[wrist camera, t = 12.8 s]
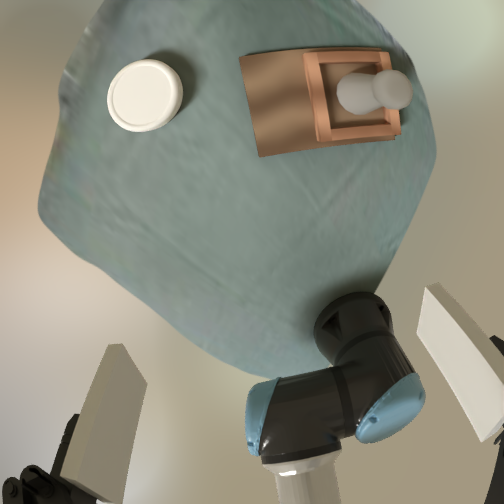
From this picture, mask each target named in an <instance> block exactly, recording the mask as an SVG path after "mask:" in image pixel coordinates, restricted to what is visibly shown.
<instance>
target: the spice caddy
mask: <svg viewBox="0 0 504 504" xmlns="http://www.w3.org/2000/svg"><path fill="white" fill-rule="evenodd" d="M239 62H240V66H241V71H242V76H243V80H244V85H245V90H246V95H247V99H248V104H249V109H250V114H251V119H252V124H253V129H254V134H255V139H256V144H257V149H258V155H259V157H265V156H271V155H276V154H282V153H288V152H295V151H301V150H308V149H315V148H322V147H330V146H338V145H346V144H355V143H365V142H376V141H388V140H395V135H401V127H400V118H399V110H396V109H387V108H386V107H384V106H383V107H381V108H378V109H376V110H374V111H371V112H369V113H367V114H365V115H355V114H353V113H351V112H349V111H347V110H345V108H344V107H343V106H342V105H341V104H340V103H339V100H338V97H337V94H336V93H337V84H338V83H339V82H340V80H341V79H342V77H343V76H346V75H348V74H350V73H363V74H370V75H376V74H377V73H379V72H381V71H383V70H386V69H390V70H392V66H391V61H390V56H389V52H382V51H381V48H365V47H333V48H311V49H297V50H286V51H277V52H269V53H262V54H255V55H248V56H242V57H239Z"/></svg>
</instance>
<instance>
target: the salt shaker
mask: <svg viewBox="0 0 504 504" xmlns="http://www.w3.org/2000/svg"><path fill="white" fill-rule="evenodd" d="M336 94H337V97H338V100H339V103H340V104H341V105H342V106H343V107H344V108H345V110H347V111H349V112H351V113H353V114H355V115H365V114H367V113H369V112H371V111H374V110H376V109H378V108H381V107H383V106H384V107H386V108H387V109H396V110H399V109H402V108H404V107H406V106H408V105H409V103H410V102H411V100H412V96H413V89H412V86H411V82H410V81H409V80H408V78H407V77H406V75H404V74H403V73H401V72H400V71H398V70H390V69H386V70H383V71H381V72H379V73H377V74H376V75H370V74H363V73H350V74H348V75H346V76H343V77H342V79H341V80H340V82H339V83H338V84H337V93H336Z"/></svg>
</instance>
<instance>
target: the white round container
mask: <svg viewBox="0 0 504 504" xmlns="http://www.w3.org/2000/svg"><path fill="white" fill-rule="evenodd" d="M182 98H183V87H182V83H181V80H180V78H179V76H178V74H177V73H176V72H175V71H174V70H173V69H172V68H171V67H169V66H168V65H167V64H165V63H163V62H161V61H158V60H153V59H144V60H139V61H136V62H133V63H131V64H129V65H127V66H126V67H124V68H123V69H122V70H121V71H120V72H119V73H118V74H117V75H116V76H115V77H114V79H113V81H112V82H111V85H110V87H109V90H108V95H107V104H108V109H109V112H110V114H111V116H112V118H113V119H114V121H115V122H116V123H117V124H118V125H120V126H121V127H122V128H124V129H127V130H129V131H134V132H144V131H150V130H154V129H157V128H160V127H162V126H163V125H165V124H166V123H168V122H169V121H170V120H171V119H172V118H173V117H174V116H175V115H176V113H177V112H178V110H179V108H180V106H181V103H182Z"/></svg>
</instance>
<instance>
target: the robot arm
mask: <svg viewBox="0 0 504 504" xmlns="http://www.w3.org/2000/svg"><path fill="white" fill-rule="evenodd" d="M417 335H418V337H419V338H420V340H421V341H422V343H423V344H424V346H425V347H426V349H427V350H428V352H429V353H430V355H431V356H432V358H433V359H434V361H435V363H436V364H437V366H438V367H439V369H440V370H441V372H442V374H443V375H444V377H445V379H446V380H447V382H448V384H449V385H450V387H451V388H452V390H453V392H454V394H455V395H456V397H457V399H458V401H459V402H460V404H461V406H462V408H463V409H464V411H465V413H466V415H467V417H468V418H469V420H470V422H471V424H472V426H473V428H474V430H475V432H476V433H477V435H478V437H479V439H480V441H481V442H482V441H484V440H486V439H487V438H489V437H490V436H491V435H493V434H495V433H496V432H497V431H498V430H499V428H500V427H501V426H503V427H504V341H503V340H501V339H499V338H498V337H496V336H495V335H494V336H492V337H490V338H488V337H487V335H486V334H485V333H484V332H483V331H482V329H481V328H480V327H479V326H478V325H477V324H476V322H475V321H474V320H473V319H472V318H471V317H470V316H469V314H468V313H467V312H466V311H465V310H464V309H463V308H462V307H461V306H460V305H459V303H458V302H457V301H456V300H455V299H454V298H453V297H452V296H451V295H450V294H449V293H448V292H447V291H446V290H445V289H444V287H443V286H442V285H441V284H440V283H436V284H432V285H429V286H425V291H424V297H423V303H422V309H421V314H420V319H419V324H418V329H417ZM314 338H315V341H316V344H317V347H318V349H319V351H320V352H321V353H322V354H323V355H324V356H325V357H326V359H327V360H328V361H329V362H330V363H331V364H332V365H333V367H329V368H325V369H321V370H317V371H313V372H308V373H304V374H299V375H294V376H289V377H284V378H281V377H278V378H276V379H274V380H270V381H266V382H261V383H258V384H256V385H254V386H253V387H252V388H251V390H250V391H249V394H248V397H247V403H246V411H245V432H246V439H247V443H248V450H249V452H250V453H251V454H252V455H255V456H260V455H261V459H262V465H263V467H265V468H266V469H268V470H269V471H271V472H272V473H273V474H275V479H276V485H277V491H278V497H279V503H280V504H341V500H340V495H339V488H338V483H337V477H336V472H335V467H334V462H335V460H336V459H337V457H338V456H339V454H340V453H341V451H342V448H341V443H340V439H343V438H346V437H350V436H353V435H355V437H356V438H357V439H358V440H359V441H360V442H361V443H366V444H367V443H375V442H378V441H381V440H383V439H385V438H388V437H390V436H392V435H393V434H395V433H396V432H398V431H400V430H401V429H402V428H404V427H405V426H406V425H408V424H409V423H410V422H411V421H412V420H413V419H414V418H415V417H416V416H417V415H418V413H419V412H420V411H421V409H422V407H423V405H424V403H425V390H424V388H423V386H422V384H421V381H420V378H419V375H418V374H417V373H416V372H415V370H414V368H413V366H412V365H411V363H410V361H409V360H408V358H407V356H406V355H405V353H404V351H403V350H402V348H401V346H400V344H399V343H398V341H397V340H396V338H395V336H394V331H393V324H392V318H391V313H390V311H389V309H388V307H387V305H386V304H385V302H384V301H383V300H382V299H381V298H380V297H378V296H377V295H375V294H372V293H368V292H357V293H352V294H348V295H345V296H343V297H341V298H339V299H337V300H335V301H334V302H332V303H331V304H330V305H328V306H327V307H326V308H325V309H324V310H323V311H322V313H321V314H320V315H319V317H318V319H317V321H316V323H315V326H314ZM146 387H147V382H146V381H145V379H144V378H143V376H142V375H141V373H140V371H139V370H138V368H137V367H136V365H135V364H134V362H133V360H132V359H131V357H130V355H129V354H128V352H127V350H126V349H125V347H124V345H123V344H112V345H108V347H107V349H106V351H105V354H104V356H103V358H102V360H101V363H100V365H99V367H98V370H97V372H96V375H95V377H94V380H93V382H92V385H91V387H90V390H89V392H88V394H87V397H86V400H85V402H84V405H83V407H82V410H81V413H80V414H74V415H73V417H72V418H71V419H70V420H69V422H68V423H67V426H66V429H65V432H64V435H63V437H62V440H61V444H60V445H59V449H58V451H57V454H56V457H55V460H54V464H53V467H52V470H51V472H50V475H49V474H48V473H46V472H45V471H44V470H42V469H41V468H40V467H38V466H36V465H29V466H27V467H26V468H24V469H23V471H22V473H21V475H20V480H18V479H17V478H15V477H10V478H8V479H7V480H6V481H5V482H4V484H3V489H2V496H3V504H96V500H97V499H98V500H100V501H102V502H104V503H106V504H122V502H123V496H124V490H125V485H126V479H127V474H128V468H129V463H130V458H131V453H132V448H133V443H134V439H135V434H136V430H137V425H138V421H139V416H140V412H141V407H142V404H143V399H144V395H145V391H146ZM500 439H501V442H500V443H499V445H500V447H499V452H498V457H497V461H496V466H495V470H494V473H493V477H492V480H491V484H490V487H489V491H488V494H487V497H486V500H485V503H484V504H504V430H503V431H502V433H501V434H500V435H499V436H498V437H497V438H496V440H495V442H494V444H497V443H498V442H499V440H500Z"/></svg>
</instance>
